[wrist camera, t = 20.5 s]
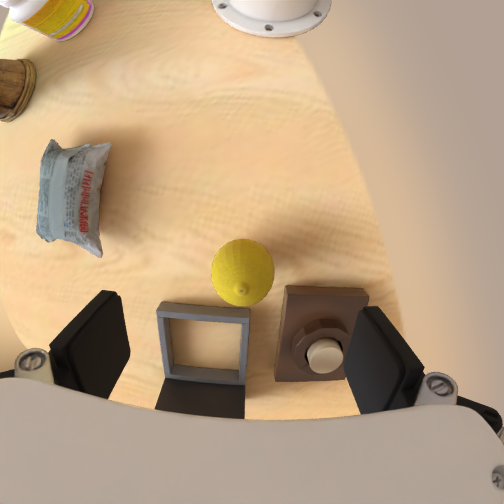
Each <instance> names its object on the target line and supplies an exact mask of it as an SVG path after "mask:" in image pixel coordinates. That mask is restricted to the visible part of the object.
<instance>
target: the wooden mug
mask: <svg viewBox="0 0 504 504" xmlns="http://www.w3.org/2000/svg"><path fill="white" fill-rule="evenodd" d="M35 79H36V70H35V67H34V66H33V64H32V63H31V62H30V61H29V60H27V59H17V60H7V59H0V121H3V122H10V121H12V120H13V119H14V118H16V117H17V116H18V115H19V114H20V113H21V111H23V109H24V108H25V106H26V105H27V103H28V101H29V99H30V97H31V95H32V92H33V90H34V87H35Z"/></svg>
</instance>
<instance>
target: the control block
mask: <svg viewBox="0 0 504 504" xmlns="http://www.w3.org/2000/svg"><path fill="white" fill-rule="evenodd" d="M368 301H369V295H368V294H367V293H366V292H365V291H364V289H363V288H334V287H305V286H285V290H284V298H283V306H282V314H281V322H280V329H279V337H278V344H277V351H276V358H275V365H274V379H275V382H308V381H332V380H345V378H346V375H345V373H344V369H343V365H344V360H345V357H346V354H347V351H348V347H349V344H350V340H351V337H352V333H353V330H354V326H355V322H356V318H357V315H358V312H359V310H362V309H363V307H365V306H367V305H368ZM323 338H331V339H333V340H335V341H336V342H337V343H338V344H339V346H340V349H341V351H342V353H343V361H342V363H341V365H340V366H339V367H338V368H337V369H335V370H334V371H332V372H329V373H317V372H314V371H313V370H312V369H311V368H310V365H309V361H308V357H307V351H308V348H309V347H310V345H311V344H312V343H314V342H315V341H317V340H319V339H323Z"/></svg>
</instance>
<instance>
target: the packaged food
mask: <svg viewBox="0 0 504 504" xmlns="http://www.w3.org/2000/svg"><path fill="white" fill-rule="evenodd" d="M56 143H57V142H55V140H54V139H51V140H50V143H49V144H48V146H47V148H46V150H45V152H44V154H43V157H42V160H41V167H40V191H39V203H38V214H37V229H36V231H37V234H38V235H39V236H40V237H41V238H42V239H46V241H47V242H53V241H55V240H56V239H57V238H58V239H62V240H65V241H70V242H73V243H75V244H77V245H79V246H81V247H82V248H84V249H86V250H88V251H89V252H90V253H92V254H94V255H96V256H97V257H101V258H102V255H103V252H102V246H101V242H100V239H99V235H100V233H99V201H100V187H101V184H102V180H103V175H104V171H105V166H106V162H107V158H108V154H109V152H110V149H111V147H112V145H113V144H112V143H104V144H100V145H94V146H89V145H90V144H89V143H87V144H85V145H83V146H80V147H75V148H67V149H62V148H61V147H60V146H59V145H58V143H57V144H56Z"/></svg>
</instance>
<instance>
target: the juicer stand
mask: <svg viewBox="0 0 504 504" xmlns="http://www.w3.org/2000/svg"><path fill="white" fill-rule="evenodd" d="M156 312H157V321H158V330H159V338H160V346H161V353H162V360H163V366H164V372H165V380H164V383H163V386H162V389H161V392H160V395H159V398H158V400H157V403H156V406H155V410H161V411H167V412H174V413H181V414H189V415H197V416H206V417H217V418H231V419H244V417H245V380H246V367H247V353H248V339H249V325H250V309H244V308H228V307H213V306H200V305H188V304H177V303H167V302H161V303H160V305H159V307H158V308H157V310H156ZM169 318H177V319H187V320H198V321H211V322H224V323H240V324H242V330H241V348H240V367H239V370H225V369H212V368H201V367H191V366H183V365H174V362H173V354H172V345H171V336H170V326H169Z"/></svg>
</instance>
